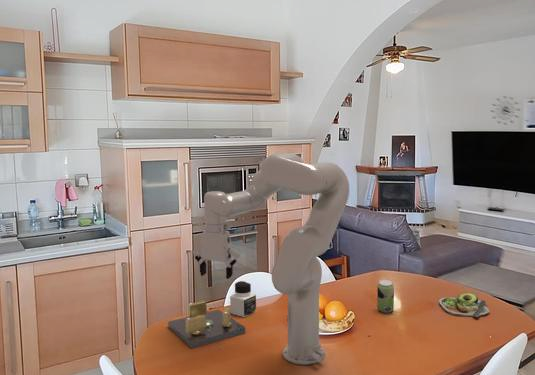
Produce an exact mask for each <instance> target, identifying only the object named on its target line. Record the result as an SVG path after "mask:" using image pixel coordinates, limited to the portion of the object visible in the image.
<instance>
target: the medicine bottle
mask: <svg viewBox="0 0 535 375" xmlns="http://www.w3.org/2000/svg"><path fill="white" fill-rule="evenodd" d="M251 286H252V283H251V282H250V281H247V280H239V281H238V282H235V283H234V293H233V294H231V295H230V297H229V300H230V302H229V304H230V306H229V307H230V315H233V316H238V317H241V318H247V317H249V316H251V315H253V314H254V313H257V294H256V293H252V287H251Z"/></svg>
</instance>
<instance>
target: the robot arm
mask: <svg viewBox="0 0 535 375" xmlns="http://www.w3.org/2000/svg"><path fill="white" fill-rule="evenodd" d="M251 183H252V184H251V185H250V186H249V187H247V188H246V189H244V190H240V191H236V192H231V193H225V192H223V191H221V190H220V191H218V190H215V191H213V190H212V191H208V192H206V193H205V194H204V195H203V196H204V200H203V203H204V205H203V206H204V208H203V210H204V214H203V215H204V217H203V218H204V230H203V231H202V235H201V242H200V243H201V244H200V247H198V248H196V249H194V250H193V251H192V254H193V256H194V258H195V260H196V261H197V263H198V265H199V273H200V276H201V277H203V276H204V275H206V274H207V262H206V261H211V262H212V261H214V262H224V264H226V266H227V267H226V268H225V269H226V270H225V274H226V275H225V276H226V279H227V280H229V279H230V278H232V276H233V271H234V269H233V266H234V265H235V264H236V263H237V262H238V260H239V258H240V257H241V254H240V253H238V252H237V251H235V250H233V249H232V239H231V233H230V231H228V230H231V225H229V224H228V221H227V220H228V219H227V218H231V217H235V216H239V215H242V214H243V215H244V214H248V213H250V212H252V211H253V210H255V209H257V208H259V207H261V205H263V204H265V203H266V202H267V201H268V200H269V199H270V198H271V197H272V196H273V195H274V194H276V193H277V192H279V191H280V190H282V189H283V190H287V191H290V192H293V193H296V194H299V195H303V196H313V195H318V194H319V196H318V198H317V200H316V201H315V202H314V204H313V206H312V208H311V210H310V214H309V215H308V218H307V220H306V222H305V224H303V225H302V226H299V227H297V228H294V229H292V230H291V231H289V232H288V233H287V234H286V236H285V238H284V239H283V240H282V243H281V245H280V248H279V252H278V253H277V256H276V259H275V261H274V264H273V267H272V272H271V283H272V286H273V287H274V288H275V290H276V291H277V292H279V293H280V294H283V295H287V345H286V346H285V347H284V348H283V350H282V356H283V358H284V359H285V360H286V361H287V362H289V363H292V364H295V365H302V366H304V365H313V364H317V363H321V362H322V361H323V359H324V358H325V356H326V353H325V350H324V349H323V348H322V345H321V343H320V290H321V289H320V288H321V284H322V283H321V281H322V275H323V271H322V269H323V268H322V264H321V262H320V260H319V258H318V257H319V256H321V255H323V254H324V253H326V251H327V250H329V247H330V246H331V245H330V244H331V243H332V240H333V237H334V235H335V233H336V230H337V227H338V225H339V222H340V219H341V217H342V215H343V213H344V210H345V208H346V205H347V203H348V200H349V198H350V197H349V196H350V182H349V180H348V176H347V175H346V173H345V171H344V170H343V169H342V167H340V166H339V165H338V164H335V163H332V162H327V161H324V162H315V163H314V162H313V163H304V162H303V159H302V158H301V157H300V156H299V155H297V154H295V153H292V152H291V153H290V152H286V153H285V152H284V153H273V154H270V155H269V156H267V157H265V159H264V160H263V161H262V163H261V165H260V170H258V171H257V172H255V173H253V175H252V178H251ZM232 257H233V259H232Z"/></svg>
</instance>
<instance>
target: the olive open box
mask: <svg viewBox="0 0 535 375" xmlns="http://www.w3.org/2000/svg"><path fill="white" fill-rule="evenodd" d="M207 312H208V310H207V302H206V301H205V300H203V301H202V300H201V301H198V302H192V303H191V302H190V303H188V304H187V315H188V316H187V317H190V318H192V317H197V316H201V315H204V314H207Z"/></svg>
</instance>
